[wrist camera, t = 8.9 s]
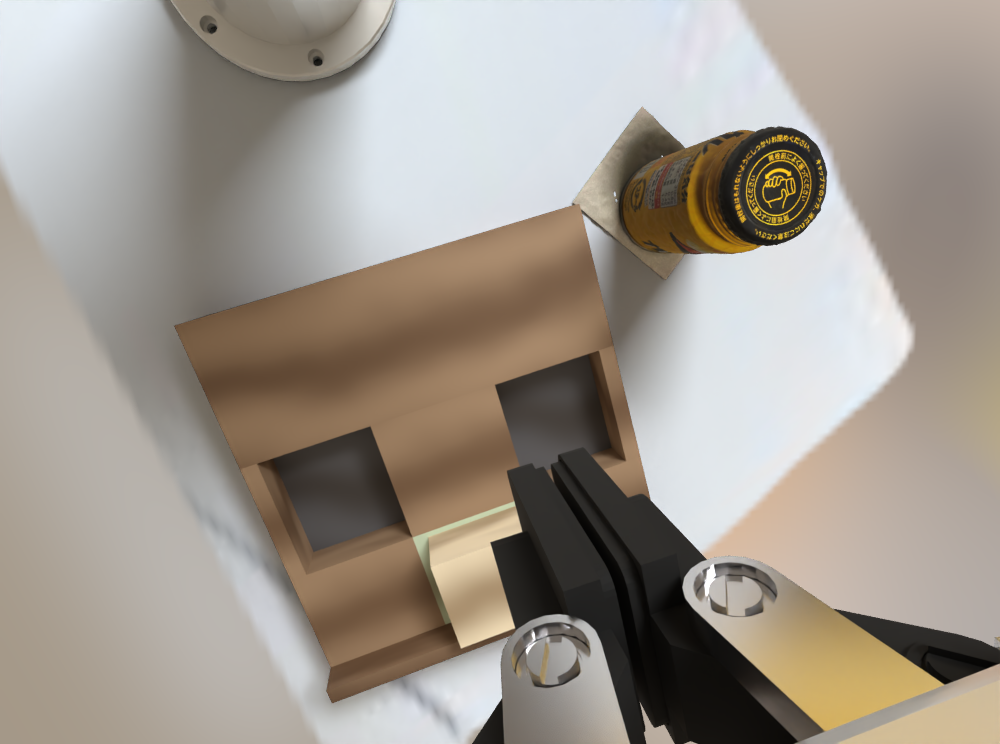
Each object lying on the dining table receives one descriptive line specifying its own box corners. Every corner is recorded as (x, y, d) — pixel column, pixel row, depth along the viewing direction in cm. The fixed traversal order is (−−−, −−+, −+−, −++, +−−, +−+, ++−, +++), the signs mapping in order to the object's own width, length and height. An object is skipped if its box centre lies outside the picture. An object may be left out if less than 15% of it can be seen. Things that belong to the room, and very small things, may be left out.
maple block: (428, 536, 35) (430, 567, 31) (515, 506, 35) (526, 532, 32) (455, 611, 36) (461, 648, 33) (539, 580, 37) (552, 614, 33)
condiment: (664, 280, 37) (781, 292, 25) (571, 202, 35) (653, 176, 23) (729, 192, 36) (879, 164, 25) (640, 107, 34) (758, 33, 23)
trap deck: (195, 319, 32) (157, 330, 27) (565, 207, 35) (590, 200, 30) (341, 647, 39) (332, 703, 34) (645, 534, 41) (677, 572, 36)
